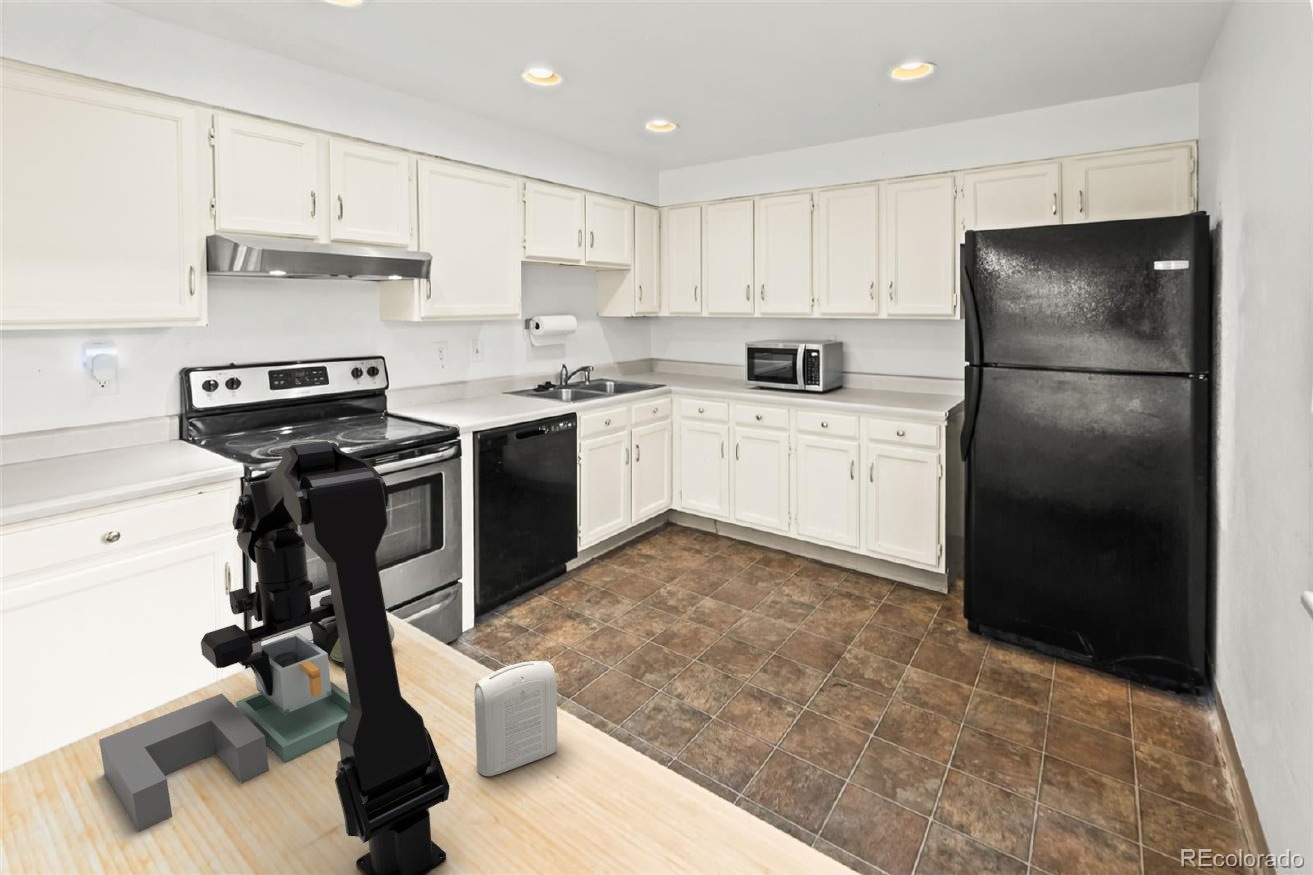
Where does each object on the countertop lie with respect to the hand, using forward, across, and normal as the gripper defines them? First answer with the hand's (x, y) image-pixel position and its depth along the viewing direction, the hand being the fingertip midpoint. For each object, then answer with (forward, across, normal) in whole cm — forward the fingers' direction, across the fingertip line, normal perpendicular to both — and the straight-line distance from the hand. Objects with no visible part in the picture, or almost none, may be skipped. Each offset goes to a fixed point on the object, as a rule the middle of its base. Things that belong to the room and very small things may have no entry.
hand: (294, 684), depth 91 cm
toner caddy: (+1, 0, +1) cm, 2 cm away
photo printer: (+5, -14, +30) cm, 33 cm away
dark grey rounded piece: (+1, 0, -2) cm, 2 cm away
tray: (+5, 0, +2) cm, 5 cm away
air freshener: (+5, -14, -10) cm, 18 cm away
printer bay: (+5, +14, +2) cm, 15 cm away
